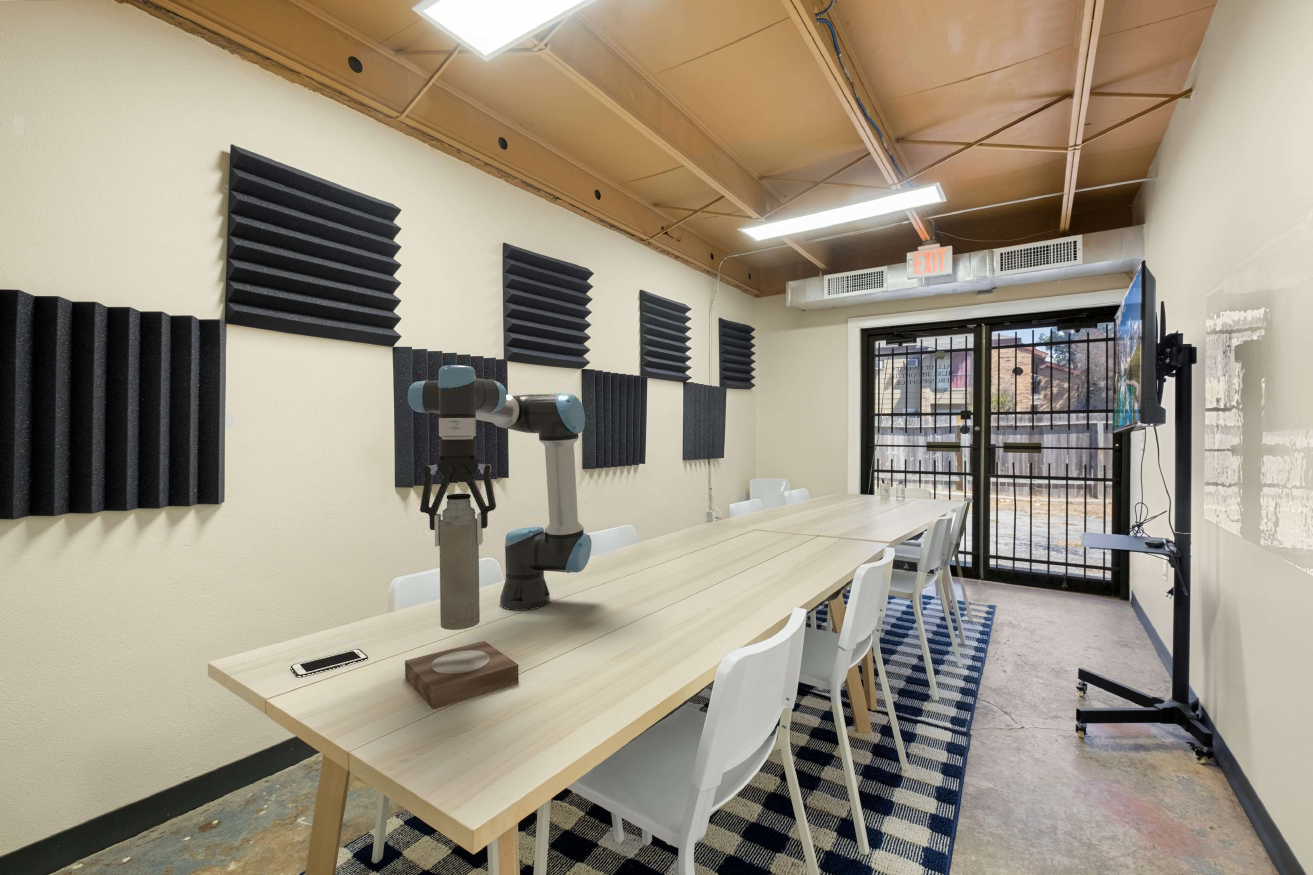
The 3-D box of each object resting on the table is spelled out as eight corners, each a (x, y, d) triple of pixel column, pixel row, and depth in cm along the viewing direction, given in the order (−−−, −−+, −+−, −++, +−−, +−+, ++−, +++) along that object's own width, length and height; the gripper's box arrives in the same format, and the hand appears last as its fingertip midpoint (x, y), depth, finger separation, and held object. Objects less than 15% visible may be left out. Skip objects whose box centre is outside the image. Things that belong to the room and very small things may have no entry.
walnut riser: (405, 678, 126) (404, 659, 126) (484, 657, 138) (484, 639, 138) (432, 709, 112) (432, 687, 112) (518, 682, 124) (518, 663, 124)
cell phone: (289, 669, 133) (289, 665, 133) (358, 651, 143) (358, 647, 143) (298, 680, 127) (298, 675, 127) (369, 660, 137) (369, 656, 137)
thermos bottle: (450, 617, 129) (449, 491, 129) (485, 618, 128) (483, 492, 128) (433, 629, 121) (431, 496, 121) (470, 630, 120) (468, 496, 120)
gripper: (401, 439, 119) (403, 549, 119) (506, 438, 122) (507, 545, 122) (411, 438, 126) (412, 542, 127) (509, 437, 129) (510, 539, 130)
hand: (459, 544), depth 124 cm, fingers closed on thermos bottle, 8 cm apart
